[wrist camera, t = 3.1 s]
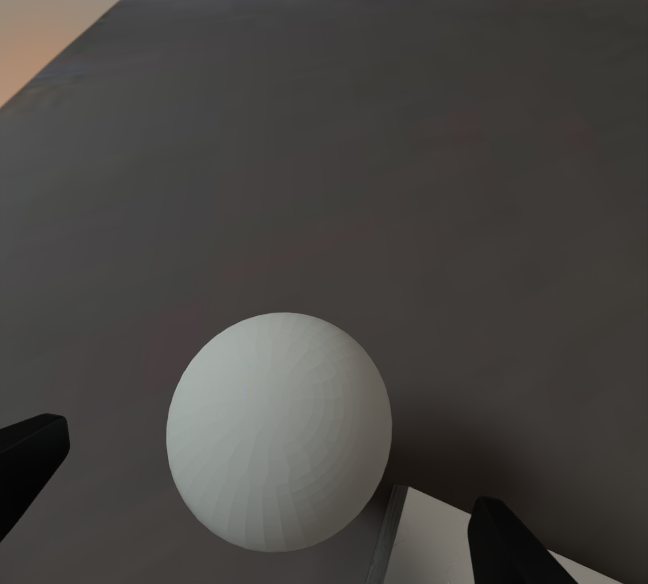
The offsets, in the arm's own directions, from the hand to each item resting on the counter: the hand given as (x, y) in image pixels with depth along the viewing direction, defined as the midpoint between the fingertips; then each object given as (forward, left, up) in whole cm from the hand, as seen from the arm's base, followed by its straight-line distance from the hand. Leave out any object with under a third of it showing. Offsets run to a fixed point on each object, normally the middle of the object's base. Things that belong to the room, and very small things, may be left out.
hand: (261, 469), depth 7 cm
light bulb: (+1, 0, -9) cm, 9 cm away
